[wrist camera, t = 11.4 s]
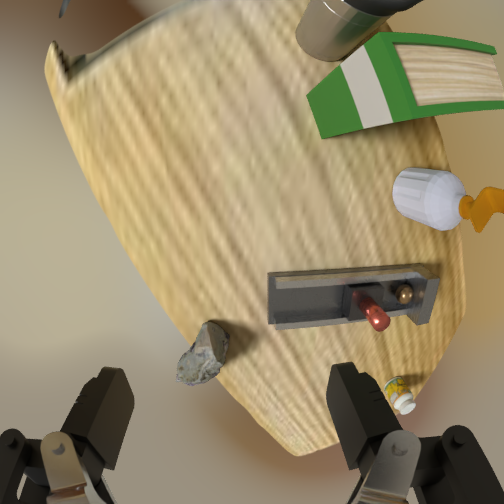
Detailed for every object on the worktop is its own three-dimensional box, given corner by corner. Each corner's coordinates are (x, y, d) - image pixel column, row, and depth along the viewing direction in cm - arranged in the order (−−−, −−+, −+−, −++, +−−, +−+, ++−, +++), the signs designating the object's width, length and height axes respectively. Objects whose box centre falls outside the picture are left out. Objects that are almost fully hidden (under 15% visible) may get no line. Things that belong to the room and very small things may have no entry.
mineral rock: (184, 374, 51) (177, 409, 42) (157, 334, 48) (143, 369, 38) (243, 357, 50) (244, 394, 41) (219, 314, 47) (216, 349, 37)
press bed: (267, 272, 45) (273, 293, 38) (419, 263, 46) (441, 278, 39) (267, 319, 48) (272, 345, 41) (411, 304, 49) (430, 322, 42)
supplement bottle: (379, 391, 57) (394, 417, 47) (390, 375, 55) (407, 401, 46) (394, 390, 57) (409, 415, 48) (405, 375, 56) (422, 400, 47)
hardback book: (396, 81, 35) (494, 46, 13) (409, 119, 38) (515, 108, 15) (306, 95, 36) (378, 32, 14) (321, 139, 39) (412, 118, 16)
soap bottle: (382, 191, 42) (493, 225, 18) (412, 156, 40) (523, 168, 16) (408, 227, 44) (509, 279, 20) (436, 193, 42) (538, 225, 19)
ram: (345, 282, 44) (368, 309, 35) (375, 279, 44) (402, 304, 35) (341, 311, 46) (361, 341, 37) (371, 307, 46) (394, 335, 37)
